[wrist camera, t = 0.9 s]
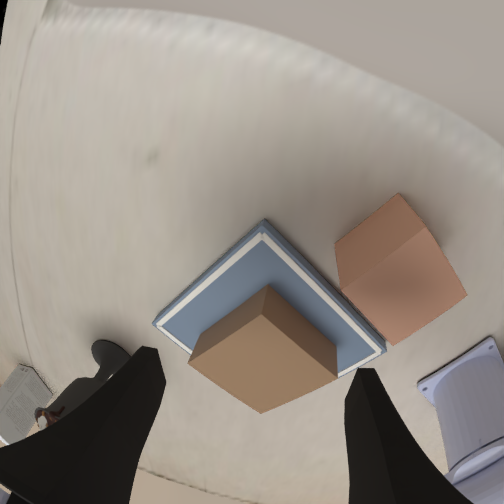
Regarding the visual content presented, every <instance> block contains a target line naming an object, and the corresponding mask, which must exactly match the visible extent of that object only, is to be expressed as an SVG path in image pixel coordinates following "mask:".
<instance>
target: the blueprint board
mask: <svg viewBox="0 0 504 504" xmlns="http://www.w3.org/2000/svg"><path fill="white" fill-rule="evenodd" d="M152 325H154V326H155V327H156V328H157V329H158V330H160V331H161V332H162V333H163V334H165V335H166V336H167V337H168V338H170V339H171V340H172V341H173V342H175V343H176V344H177V345H178V346H180V347H181V348H182V349H183V350H185V351H186V352H187V353H189V354H190V355H191V356H190V359H189V361H188V364H189V365H190V366H192V367H193V368H194V369H196V370H197V371H198V372H200V373H201V374H203V375H204V376H205V377H207V378H208V379H210V380H211V381H212V382H214V383H215V384H217V385H218V386H220V387H221V388H222V389H224V390H225V391H227V392H228V393H230V394H231V395H233V396H234V397H236V398H237V399H239V400H240V401H242V402H243V403H245V404H246V405H248V406H249V407H251V408H252V409H254V410H256V411H257V412H259V413H260V414H261V413H264V412H266V411H269V410H271V409H274V408H276V407H278V406H281V405H283V404H285V403H288V402H290V401H292V400H294V399H296V398H299V397H301V396H303V395H305V394H307V393H309V392H312V391H314V390H316V389H318V388H320V387H322V386H324V385H326V384H328V383H330V382H332V381H334V380H336V379H338V378H340V377H342V376H344V375H345V374H347V373H349V372H351V371H353V370H355V369H357V368H359V367H360V366H362V365H364V364H366V363H368V362H369V361H371V360H373V359H375V358H376V357H378V356H380V355H382V354H383V353H385V352H387V349H386V344H385V342H384V340H383V339H382V338H381V337H380V336H379V335H378V334H377V333H376V332H375V331H374V330H373V329H372V328H371V327H370V326H369V325H368V323H367V322H366V321H365V320H364V319H363V318H362V317H361V316H360V315H359V314H358V313H357V312H356V311H355V310H354V309H353V308H352V307H351V306H350V305H349V304H348V303H347V301H346V300H345V299H344V298H343V297H342V296H341V295H340V294H339V293H338V292H337V291H336V290H335V289H334V288H333V287H332V286H331V285H330V284H329V283H328V282H327V281H326V280H325V279H324V278H323V277H322V276H321V275H320V274H319V273H318V272H317V271H316V270H315V269H314V268H313V267H312V266H311V265H310V264H309V262H308V261H307V260H306V259H305V258H304V257H303V256H302V255H301V254H300V253H299V252H298V251H297V250H296V249H295V248H294V247H293V246H292V245H291V244H290V243H289V242H288V241H287V240H286V239H285V238H284V237H283V236H282V235H281V234H280V233H279V232H278V231H277V230H276V229H275V228H274V227H272V226H271V225H270V224H269V223H268V222H267V221H266V220H265V219H263V220H262V221H261V222H260V223H259V224H258V225H257V226H256V227H254V228H253V229H252V230H251V231H250V232H249V233H248V234H247V235H246V236H244V237H243V238H242V239H241V240H240V241H239V242H238V243H237V244H235V245H234V246H233V247H232V248H231V249H230V250H229V251H228V252H227V253H225V254H224V255H223V256H222V257H221V258H220V259H219V260H218V261H216V262H215V263H214V264H213V265H212V266H211V267H210V268H209V269H208V270H207V271H205V272H204V273H203V274H202V275H201V276H200V277H199V278H198V279H197V280H195V281H194V282H193V283H192V284H191V285H190V286H189V287H188V288H187V289H186V290H184V291H183V292H182V293H181V294H180V295H179V296H178V297H177V298H176V299H175V300H174V301H172V302H171V303H170V304H169V305H168V306H167V307H166V308H165V309H164V310H163V311H161V312H160V313H159V314H158V315H157V316H156V318H155V319H154V321H153V323H152Z"/></svg>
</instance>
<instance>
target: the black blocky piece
mask: <svg viewBox="0 0 504 504" xmlns="http://www.w3.org/2000/svg"><path fill="white" fill-rule="evenodd" d="M7 2H8V0H0V45H1V37H2V30H3V23H4V17H5V12H6V7H7Z"/></svg>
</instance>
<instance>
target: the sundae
mask: <svg viewBox="0 0 504 504" xmlns="http://www.w3.org/2000/svg"><path fill="white" fill-rule="evenodd" d="M91 350H92V354H93V357H94V359H95V361H96V362H97V363H98V364H99V365H100V368H99V371H98V372H97V374H96V375H95V377H94V378H87V377H84V378H77V379H75V380H74V381H73V382H72V383H71V384H70V385H69V386H68V387H67V388H66V389H65V390H64V391H63V392H62V393H61V394H60V396H59V397H58V398H57V399H56V400H55V401H54V402H53V403H52V404H51V405H50V406H49V407H47V408H41V407H37V408H36V410H35V413H34V415H35V419H36V421H37V423H38V427H39V429H40V431H41V430H43V429H45V428H46V427H48V426H50V425H51V424H53V423H55V422H56V421H58V420H59V419H61V418H62V417H64V416H65V415H67V414H68V413H70V412H71V411H72V410H74V409H75V408H76V407H78V406H79V405H80V404H81V403H83V402H84V401H85V400H86V399H87V398H89V397H90V396H91V395H92V394H93V393H94V392H95V391H97V390H98V389H99V388H100V387H101V386H102V385H103V384H104V383H105V382H106V381H107V380H108V378H109V377H110V376H111V375H112V374H113V375H114V374H115V373H116V372H117V371H118V370H119V369H120V368H121V367H122V366H123V365H124V364H125V363H126V362H127V361H128V360H129V358H130V356H129V355H128V354H127V352H126V351H124V350H123V349H122V348H121V347H119V346H118V345H116V344H114V343H111V342H108V341H96V342H95V343H93V345H92V349H91ZM38 432H39V431H38Z"/></svg>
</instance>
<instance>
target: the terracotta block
mask: <svg viewBox="0 0 504 504" xmlns="http://www.w3.org/2000/svg"><path fill="white" fill-rule="evenodd" d="M334 246H335V253H336V259H337V266H338V274H339V281H340V289H341V291H342V292H343V293H344V294H345V295H346V296H347V297H348V298H349V300H350V301H351V302H352V303H353V304H354V305H355V306H356V307H357V308H358V309H359V310H360V311H361V312H362V313H363V314H364V315H365V316H366V318H367V319H368V320H369V321H370V322H371V323H372V324H373V325H374V326H375V327H376V328H377V329H378V330H379V331H380V333H381V334H382V335H383V336H384V337H385V338H386V339H387V340H388V341H389V342H390V343H391V345H392V346H394V345H395V344H397V343H399V342H400V341H402V340H403V339H405V338H407V337H408V336H410V335H411V334H413V333H414V332H416V331H418V330H419V329H421V328H422V327H424V326H425V325H427V324H428V323H430V322H431V321H433V320H434V319H435V318H437V317H438V316H440V315H441V314H443V313H444V312H445V311H447V310H448V309H450V308H451V307H452V306H454V305H455V304H457V303H458V302H459V301H461V300H462V299H463V298H465V297H466V296H467V293H466V291H465V289H464V287H463V286H462V284H461V282H460V280H459V278H458V277H457V275H456V273H455V272H454V270H453V268H452V266H451V265H450V263H449V261H448V260H447V258H446V256H445V255H444V253H443V252H442V250H441V248H440V247H439V245H438V244H437V242H436V241H435V239H434V237H433V236H432V234H431V233H430V231H429V230H428V228H427V227H426V225H425V224H424V223H423V222H422V220H421V219H420V218H419V217H418V216H417V214H416V213H415V212H414V211H413V209H412V208H411V207H410V206H409V205H408V203H407V202H406V201H405V200H404V199H403V198H402V196H401V195H400V194H399V193H398V194H396V195H395V196H394V197H393V198H391V199H390V200H389V201H388V202H387V203H385V204H384V205H383V206H382V207H380V208H379V209H378V210H377V211H375V212H374V213H373V214H372V215H370V216H369V217H368V218H367V219H365V220H364V221H363V222H362V223H360V224H359V225H358V226H357V227H355V228H354V229H353V230H352V231H350V232H349V233H348V234H347V235H345V236H344V237H343V238H341V239H340V240H339V241H338V242H336V243H335V244H334Z"/></svg>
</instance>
